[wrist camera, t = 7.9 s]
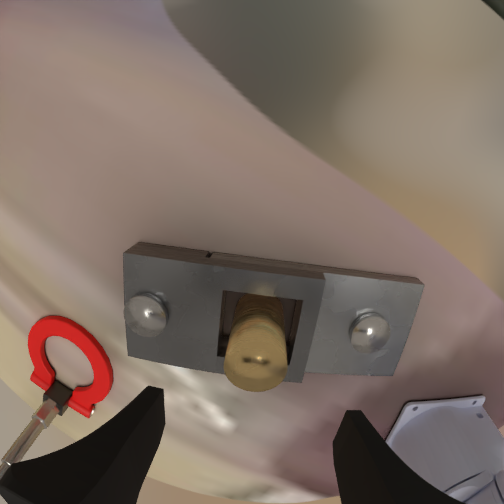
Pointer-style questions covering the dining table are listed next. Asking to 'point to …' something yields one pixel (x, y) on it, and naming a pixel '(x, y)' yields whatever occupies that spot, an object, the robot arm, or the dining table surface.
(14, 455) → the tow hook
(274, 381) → the pin
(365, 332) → the lower chain end
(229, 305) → the dining table surface
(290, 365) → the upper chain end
